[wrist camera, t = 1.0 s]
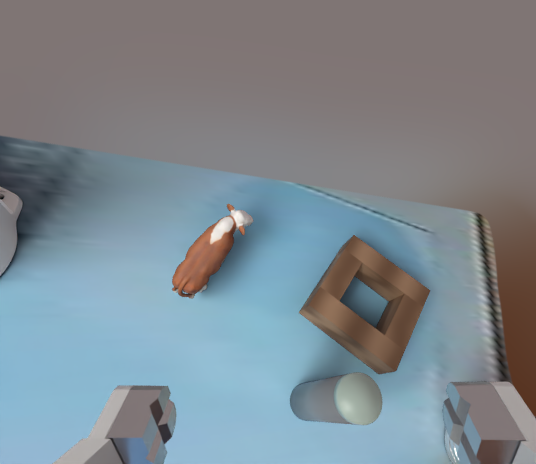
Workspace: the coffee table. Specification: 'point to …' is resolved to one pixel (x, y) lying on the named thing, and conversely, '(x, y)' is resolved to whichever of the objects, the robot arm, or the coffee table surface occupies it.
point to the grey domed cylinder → (338, 400)
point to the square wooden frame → (353, 326)
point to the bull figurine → (208, 253)
